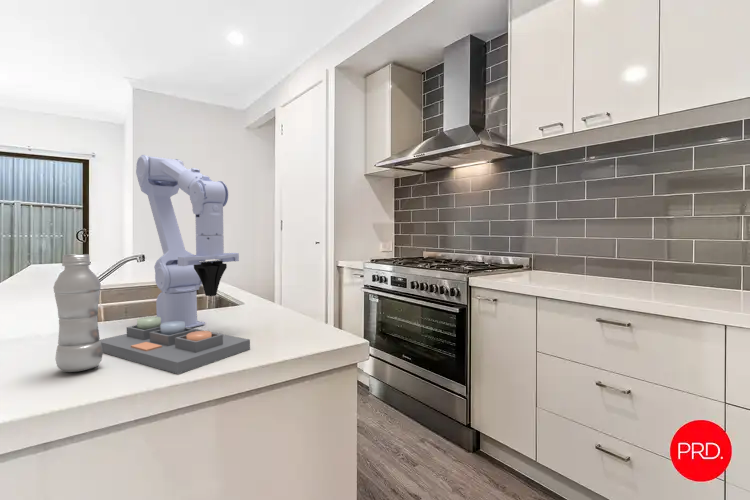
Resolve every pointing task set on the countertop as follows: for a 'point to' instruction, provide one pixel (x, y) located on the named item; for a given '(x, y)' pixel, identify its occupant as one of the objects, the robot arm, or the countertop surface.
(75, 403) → the countertop surface
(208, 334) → the button terracotta
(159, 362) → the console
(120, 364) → the countertop surface
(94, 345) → the plastic bottle
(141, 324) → the button sage
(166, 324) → the button slate
